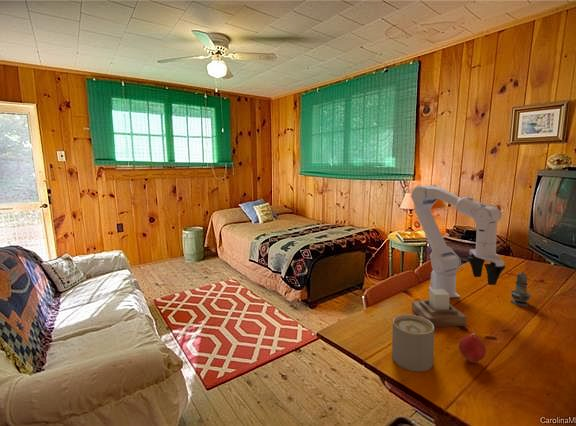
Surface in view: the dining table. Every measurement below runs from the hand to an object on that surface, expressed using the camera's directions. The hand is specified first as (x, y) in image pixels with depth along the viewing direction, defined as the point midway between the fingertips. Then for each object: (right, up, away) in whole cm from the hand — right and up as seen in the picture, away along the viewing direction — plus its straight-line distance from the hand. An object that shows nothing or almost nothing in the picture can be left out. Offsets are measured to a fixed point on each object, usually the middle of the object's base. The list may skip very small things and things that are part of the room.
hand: (484, 280), depth 102 cm
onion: (-21, -15, -26) cm, 36 cm away
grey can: (-34, -15, -23) cm, 43 cm away
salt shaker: (+16, -10, +5) cm, 19 cm away
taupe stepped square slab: (-18, -12, -3) cm, 21 cm away
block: (-18, -9, -4) cm, 20 cm away
